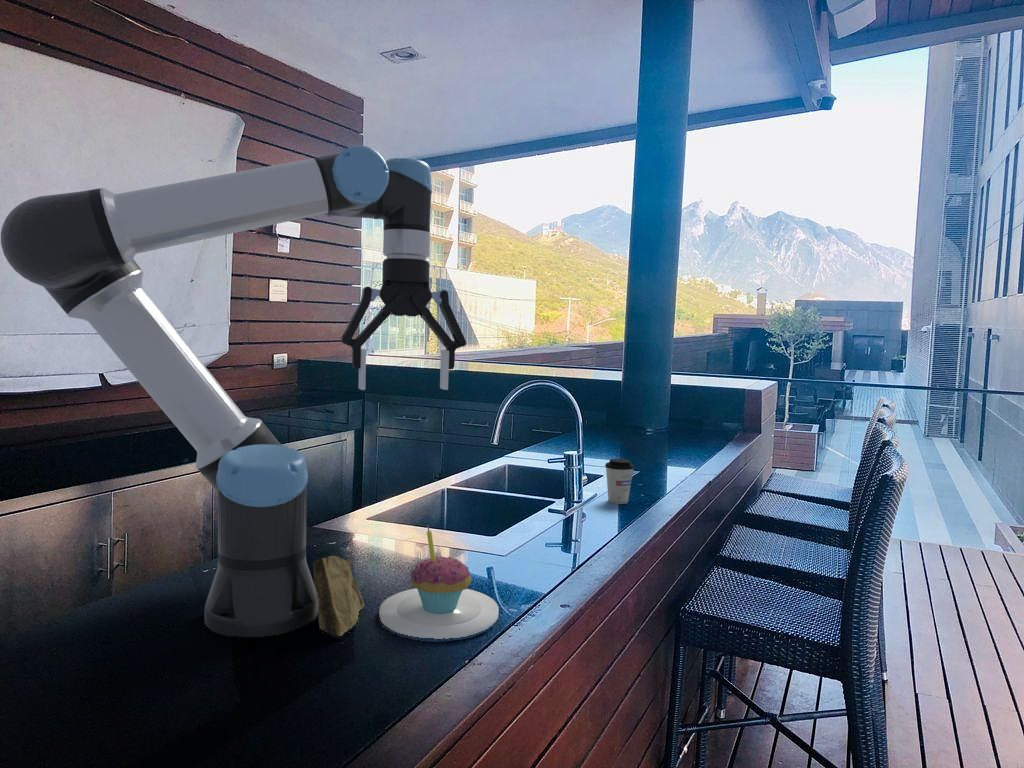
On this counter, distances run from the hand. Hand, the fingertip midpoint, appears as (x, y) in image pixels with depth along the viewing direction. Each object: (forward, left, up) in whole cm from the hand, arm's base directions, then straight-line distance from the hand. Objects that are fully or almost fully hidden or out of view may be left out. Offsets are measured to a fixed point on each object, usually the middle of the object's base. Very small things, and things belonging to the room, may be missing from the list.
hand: (403, 389), depth 121 cm
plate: (+2, -20, -31) cm, 37 cm away
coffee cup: (+59, +35, -31) cm, 75 cm away
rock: (-11, -18, -31) cm, 38 cm away
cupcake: (+2, -20, -30) cm, 36 cm away
